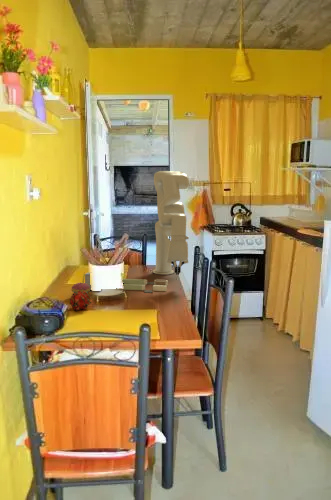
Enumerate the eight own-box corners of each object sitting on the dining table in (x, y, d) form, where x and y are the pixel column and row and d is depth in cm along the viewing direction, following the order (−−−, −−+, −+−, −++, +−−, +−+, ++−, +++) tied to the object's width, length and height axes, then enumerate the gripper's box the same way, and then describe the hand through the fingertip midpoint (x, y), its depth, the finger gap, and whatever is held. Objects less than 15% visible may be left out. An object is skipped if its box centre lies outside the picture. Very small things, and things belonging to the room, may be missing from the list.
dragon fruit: (87, 308, 185) (77, 320, 174) (72, 296, 185) (60, 308, 174) (97, 294, 182) (87, 306, 171) (82, 283, 182) (70, 294, 171)
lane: (120, 283, 224) (120, 278, 224) (167, 285, 223) (167, 280, 223) (116, 289, 212) (116, 284, 212) (166, 291, 211) (166, 286, 211)
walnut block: (156, 286, 220) (156, 279, 219) (165, 287, 220) (165, 279, 219) (155, 289, 215) (155, 281, 214) (164, 289, 215) (165, 281, 214)
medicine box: (102, 289, 211) (102, 272, 209) (100, 292, 206) (100, 274, 205) (87, 289, 212) (87, 272, 210) (84, 291, 207) (84, 274, 206)
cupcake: (83, 294, 201) (83, 270, 199) (93, 298, 195) (93, 273, 193) (67, 297, 195) (67, 272, 193) (78, 301, 189) (77, 275, 187)
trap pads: (147, 282, 228) (147, 281, 228) (155, 282, 228) (155, 282, 228) (143, 292, 207) (143, 291, 207) (151, 292, 207) (151, 292, 207)
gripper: (193, 238, 216) (192, 273, 218) (164, 237, 216) (163, 272, 219) (193, 239, 208) (192, 276, 211) (163, 239, 209) (162, 275, 212)
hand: (177, 274), depth 215 cm, fingers closed
